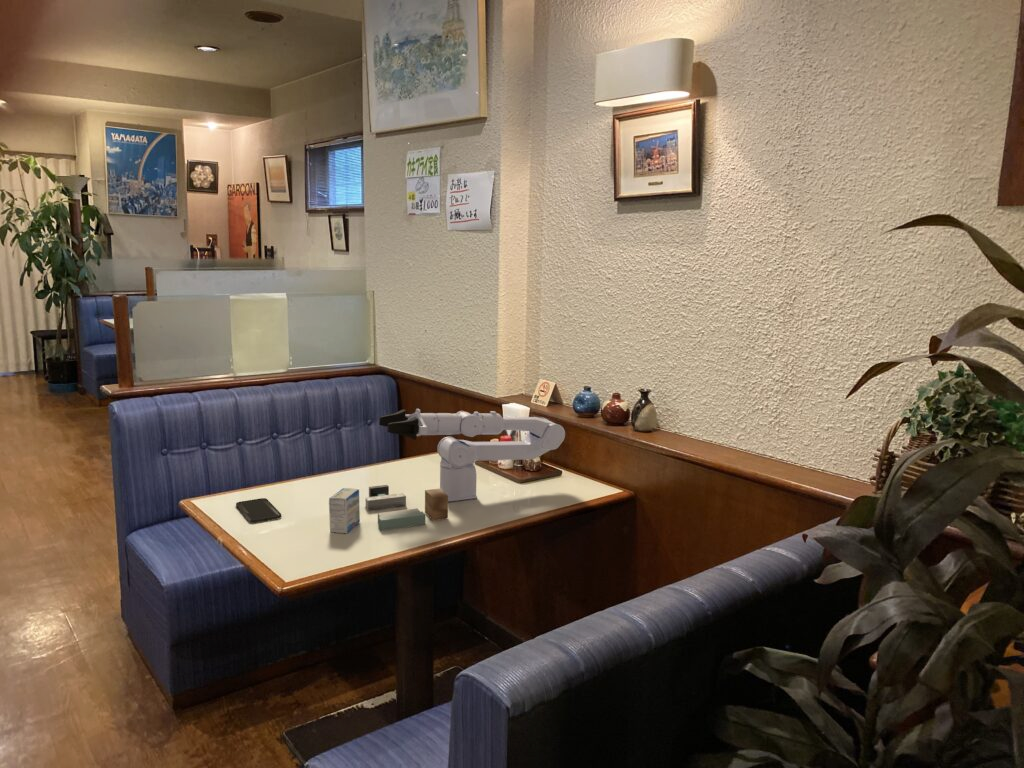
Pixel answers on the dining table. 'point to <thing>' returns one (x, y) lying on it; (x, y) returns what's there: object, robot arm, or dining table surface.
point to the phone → (258, 510)
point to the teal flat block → (400, 519)
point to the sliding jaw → (383, 498)
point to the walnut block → (436, 504)
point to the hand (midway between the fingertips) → (383, 424)
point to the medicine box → (344, 510)
